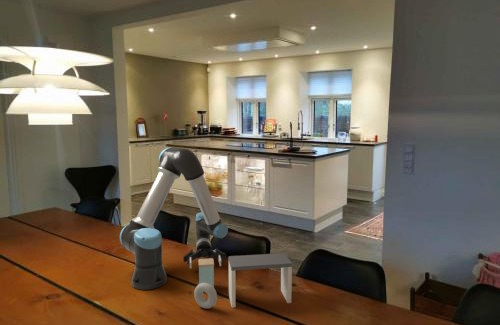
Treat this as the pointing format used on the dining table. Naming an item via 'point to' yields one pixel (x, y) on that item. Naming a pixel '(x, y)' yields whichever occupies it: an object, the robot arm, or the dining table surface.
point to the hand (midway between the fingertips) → (205, 264)
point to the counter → (283, 284)
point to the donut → (210, 292)
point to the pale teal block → (206, 271)
